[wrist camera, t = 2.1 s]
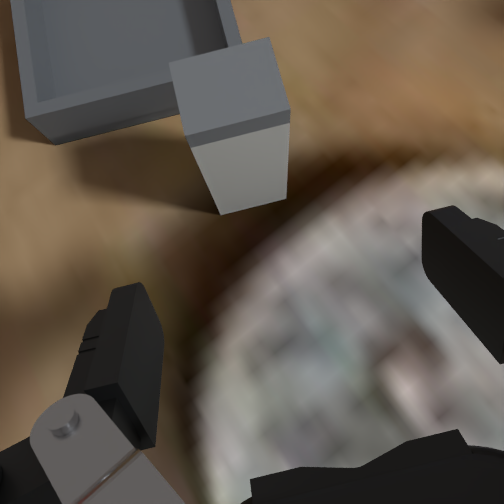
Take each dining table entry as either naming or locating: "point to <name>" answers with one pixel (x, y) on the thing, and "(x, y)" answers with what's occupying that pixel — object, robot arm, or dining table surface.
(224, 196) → the grey block
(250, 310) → the dining table surface
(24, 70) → the tray
